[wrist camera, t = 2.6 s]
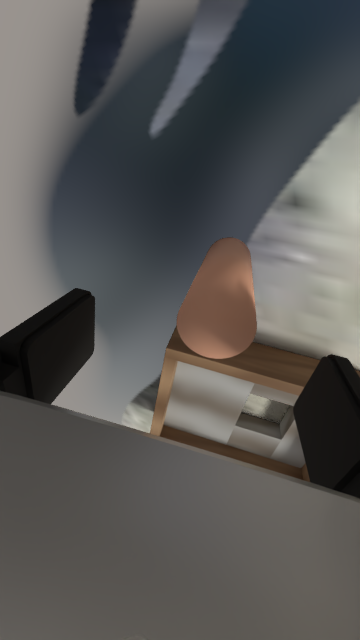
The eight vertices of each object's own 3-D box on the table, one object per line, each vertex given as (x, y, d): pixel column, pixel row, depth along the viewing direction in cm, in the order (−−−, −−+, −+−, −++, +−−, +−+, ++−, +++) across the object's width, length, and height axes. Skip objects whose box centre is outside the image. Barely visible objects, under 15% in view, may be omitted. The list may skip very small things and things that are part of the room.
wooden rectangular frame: (178, 321, 25) (166, 347, 21) (368, 373, 23) (393, 412, 19) (158, 414, 32) (147, 446, 28) (302, 459, 30) (311, 500, 26)
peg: (212, 232, 20) (184, 280, 11) (256, 243, 20) (269, 301, 10) (202, 275, 22) (171, 346, 13) (242, 285, 22) (242, 367, 12)
